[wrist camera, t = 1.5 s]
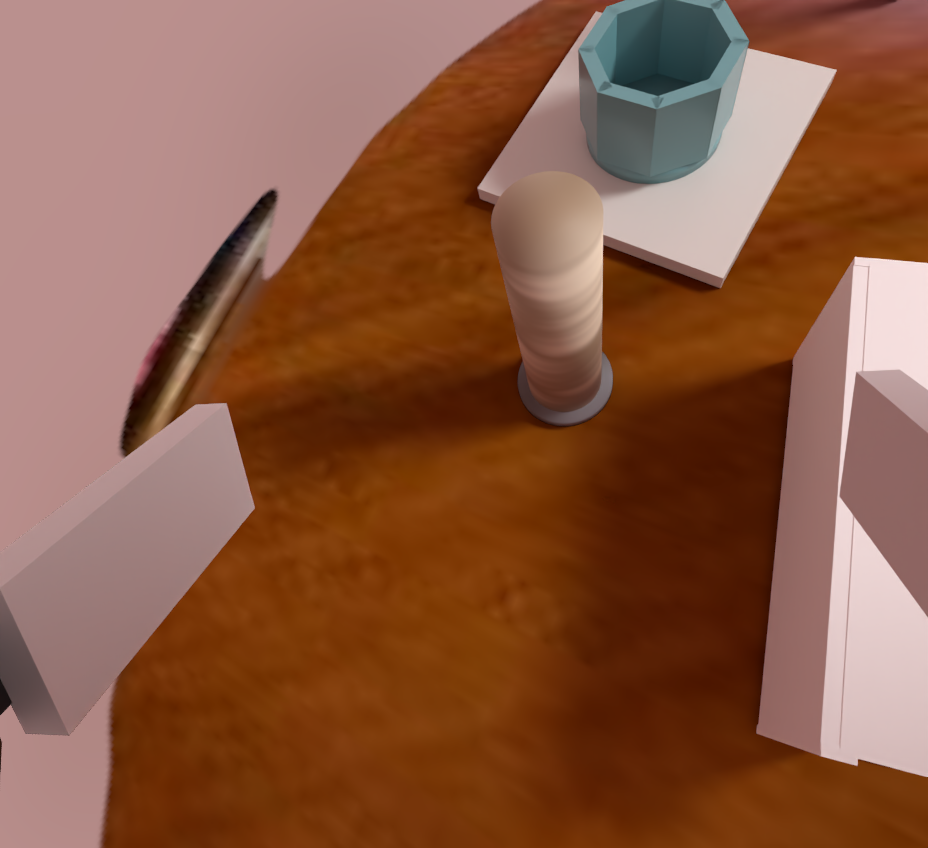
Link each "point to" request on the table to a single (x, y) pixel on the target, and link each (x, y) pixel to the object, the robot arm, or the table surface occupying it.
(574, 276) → the pillar candle on dish
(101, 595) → the robot arm
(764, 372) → the table surface
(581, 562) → the table surface
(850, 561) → the cigarette display
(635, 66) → the octagonal cup on tile
